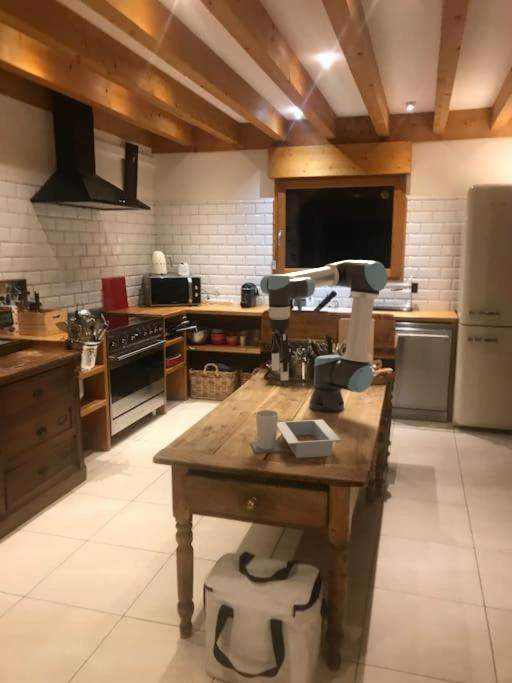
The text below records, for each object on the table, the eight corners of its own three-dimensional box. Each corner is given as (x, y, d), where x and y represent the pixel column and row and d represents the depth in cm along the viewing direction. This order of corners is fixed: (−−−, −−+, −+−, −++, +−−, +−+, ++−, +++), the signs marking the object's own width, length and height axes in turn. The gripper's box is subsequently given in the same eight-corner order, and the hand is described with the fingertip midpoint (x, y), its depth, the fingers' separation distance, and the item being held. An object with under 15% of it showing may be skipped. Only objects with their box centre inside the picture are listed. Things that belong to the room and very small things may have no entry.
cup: (262, 451, 193) (262, 418, 191) (251, 443, 200) (251, 411, 197) (282, 447, 196) (282, 415, 194) (271, 440, 203) (271, 408, 201)
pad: (277, 441, 204) (277, 440, 204) (283, 452, 194) (283, 450, 194) (250, 443, 202) (250, 441, 202) (255, 453, 192) (255, 452, 192)
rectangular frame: (322, 433, 213) (322, 419, 212) (340, 455, 192) (341, 439, 191) (274, 436, 209) (274, 422, 208) (288, 458, 188) (288, 443, 187)
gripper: (261, 312, 210) (262, 367, 215) (277, 324, 186) (278, 385, 191) (281, 311, 212) (281, 365, 216) (299, 323, 188) (299, 383, 192)
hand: (280, 375), depth 204 cm, fingers open, 13 cm apart
